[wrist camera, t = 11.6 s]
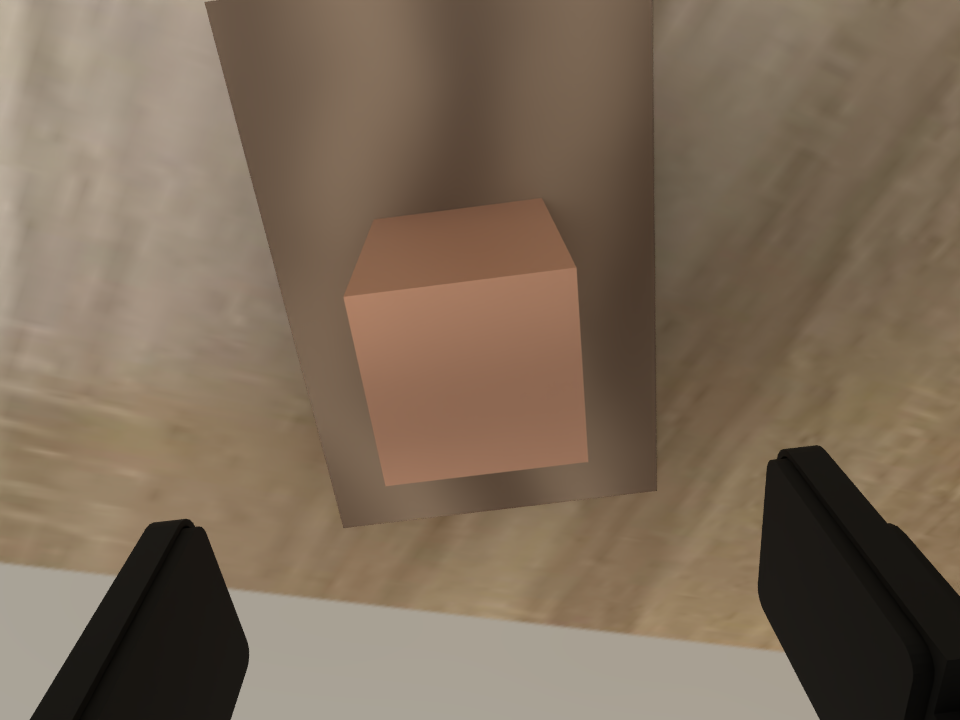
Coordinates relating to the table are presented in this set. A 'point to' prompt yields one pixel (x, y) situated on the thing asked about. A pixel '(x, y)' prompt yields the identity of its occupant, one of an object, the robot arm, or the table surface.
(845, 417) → the table surface
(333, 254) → the flat brown rectangular board
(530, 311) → the salmon orange block
